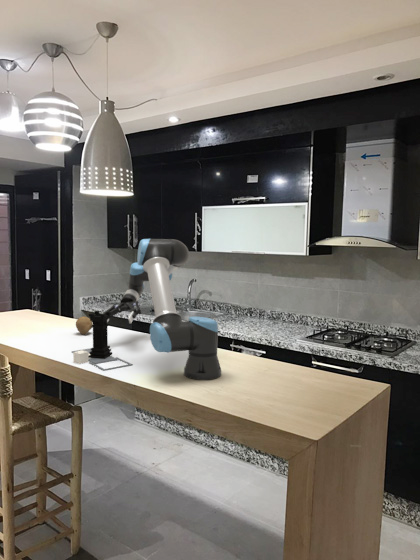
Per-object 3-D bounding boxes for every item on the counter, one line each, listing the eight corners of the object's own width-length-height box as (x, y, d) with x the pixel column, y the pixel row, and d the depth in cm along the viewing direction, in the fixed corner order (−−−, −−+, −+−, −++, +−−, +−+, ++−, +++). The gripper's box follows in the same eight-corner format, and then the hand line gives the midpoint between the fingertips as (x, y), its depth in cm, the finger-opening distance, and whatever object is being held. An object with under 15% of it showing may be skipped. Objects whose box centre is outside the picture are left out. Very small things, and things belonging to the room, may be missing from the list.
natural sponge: (82, 331, 256) (82, 314, 255) (96, 333, 253) (95, 315, 252) (72, 334, 247) (72, 317, 246) (86, 336, 244) (85, 318, 243)
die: (88, 362, 197) (88, 351, 196) (79, 364, 193) (79, 353, 193) (82, 360, 200) (82, 349, 199) (73, 362, 196) (73, 351, 196)
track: (117, 360, 201) (117, 358, 200) (94, 364, 193) (94, 363, 193) (93, 348, 219) (93, 347, 219) (71, 352, 212) (71, 351, 212)
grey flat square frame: (132, 365, 193) (132, 364, 193) (103, 370, 184) (103, 369, 184) (117, 358, 203) (117, 357, 203) (89, 363, 195) (89, 362, 195)
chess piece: (104, 359, 200) (104, 314, 197) (88, 357, 201) (87, 313, 199) (112, 354, 208) (111, 311, 205) (96, 352, 209) (95, 310, 207)
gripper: (154, 302, 230) (143, 326, 211) (110, 308, 236) (95, 332, 217) (150, 290, 227) (138, 312, 208) (105, 296, 232) (89, 319, 214)
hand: (116, 322), depth 213 cm, fingers open, 13 cm apart
